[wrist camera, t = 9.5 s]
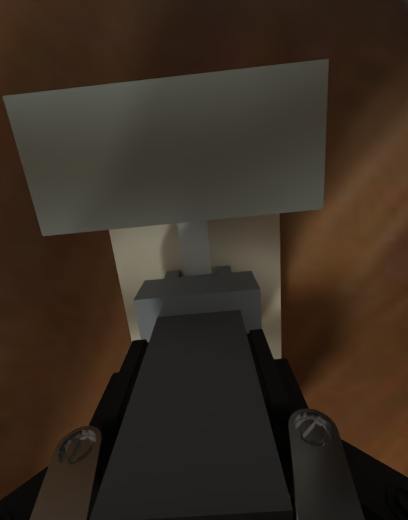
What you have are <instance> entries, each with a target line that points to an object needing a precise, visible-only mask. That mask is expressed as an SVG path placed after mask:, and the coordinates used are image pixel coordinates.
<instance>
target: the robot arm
mask: <svg viewBox="0 0 408 520" xmlns="http://www.w3.org/2000/svg"><path fill="white" fill-rule="evenodd" d="M247 338H248V342H249V345H250V349H251V353H252V357H253V360H254V364H255V368H256V372H257V376H258V379H259V383H260V387H261V391H262V394H263V398H264V402H265V406H266V410H267V413H268V417H269V421H270V425H271V429H272V432H273V436H274V440H275V444H276V447H277V451H278V455H279V459H280V463H281V466H282V470H283V474H284V478H285V481H286V485H287V489H288V493H289V497H290V500H291V504H292V508H293V520H408V477H406V476H404V475H402V474H401V473H399V472H397V471H395V470H394V469H392V468H390V467H389V466H387V465H385V464H383V463H382V462H380V461H378V460H376V459H375V458H373V457H371V456H370V455H368V454H366V453H364V452H363V451H361V450H359V449H357V448H356V447H354V446H352V445H351V444H349V443H347V442H345V441H344V440H342V439H341V438H340V435H339V431H338V429H337V427H336V425H335V423H334V422H333V421H332V420H331V419H330V418H329V417H328V416H327V415H325V414H324V413H322V412H320V411H317V410H314V409H309V408H308V406H307V404H306V401H305V399H304V397H303V395H302V392H301V390H300V388H299V386H298V383H297V381H296V379H295V377H294V374H293V372H292V370H291V368H290V365H289V363H288V361H287V359H286V358H282V359H274V358H273V356H272V353H271V350H270V348H269V345H268V342H267V340H266V337H265V334H264V332H263V329H254V330H250V331H249V333H247ZM148 343H149V342H147V340H146V339H142V340H133V341H132V344H131V346H130V348H129V350H128V353H127V355H126V357H125V360H124V362H123V364H122V366H121V369H120V371H119V373H114V374H113V375H112V377H111V379H110V381H109V383H108V385H107V387H106V389H105V392H104V394H103V396H102V398H101V400H100V402H99V405H98V407H97V409H96V411H95V413H94V415H93V417H92V420H91V422H90V424H89V426H83V427H80V428H77V429H75V430H73V431H72V432H70V433H68V434H67V435H66V436H65V437H64V438H63V439H62V440H61V441H60V442H59V443H58V445H57V446H56V448H55V450H54V452H53V455H52V458H51V461H50V464H49V466H48V467H46V468H45V469H44V470H42V471H41V472H39V473H38V474H37V475H35V476H34V477H33V478H31V479H30V480H28V481H27V482H26V483H24V484H23V485H21V486H20V487H19V488H17V489H16V490H15V491H13V492H12V493H10V494H9V495H8V496H6V497H5V498H4V499H2V500H1V501H0V520H89V519H90V516H91V513H92V510H93V507H94V504H95V501H96V498H97V495H98V492H99V489H100V486H101V483H102V481H103V478H104V475H105V472H106V469H107V466H108V463H109V460H110V457H111V454H112V451H113V448H114V445H115V442H116V439H117V436H118V433H119V430H120V427H121V424H122V421H123V418H124V415H125V412H126V409H127V406H128V403H129V400H130V397H131V394H132V391H133V388H134V385H135V382H136V379H137V376H138V373H139V370H140V367H141V364H142V361H143V358H144V355H145V352H146V349H147V346H148Z"/></svg>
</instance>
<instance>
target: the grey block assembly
mask: <svg viewBox="0 0 408 520" xmlns="http://www.w3.org/2000/svg"><path fill="white" fill-rule="evenodd" d="M328 72H329V59H322V60H313V61H304V62H295V63H287V64H278V65H269V66H260V67H252V68H243V69H234V70H225V71H217V72H208V73H199V74H190V75H182V76H173V77H164V78H156V79H147V80H138V81H129V82H121V83H112V84H103V85H94V86H86V87H77V88H68V89H59V90H51V91H42V92H33V93H24V94H16V95H7V96H3V100H4V103H5V107H6V110H7V114H8V117H9V121H10V124H11V128H12V131H13V135H14V138H15V142H16V145H17V149H18V152H19V156H20V159H21V163H22V166H23V170H24V173H25V177H26V180H27V184H28V187H29V191H30V194H31V198H32V201H33V205H34V208H35V212H36V215H37V219H38V223H39V226H40V230H41V233H42V236H50V235H61V234H71V233H81V232H92V231H102V230H109V234H110V239H111V243H112V248H113V253H114V258H115V263H116V268H117V272H118V277H119V282H120V287H121V292H122V296H123V301H124V306H125V311H126V316H127V321H128V325H129V330H130V335H131V340H132V341H133V340H141V337H140V332H139V327H138V322H137V317H136V312H135V307H134V301H133V300H134V298H135V296H136V295H137V293H138V291H139V289H140V288H141V286H142V284H143V282H144V281H145V280H154V279H164V277H165V275H166V272H167V271H176V270H180V274H181V277H187V276H199V275H210V274H217V268H216V267H220V266H230V268H231V272H243V271H252V273H253V275H254V277H255V279H256V281H257V283H258V285H259V287H260V291H261V319H262V329H263V332H264V334H265V337H266V340H267V342H268V345H269V348H270V350H271V353H272V356H273V358H274V359H281V276H280V213H288V212H298V211H308V210H319V209H323V207H324V180H325V153H326V126H327V99H328Z"/></svg>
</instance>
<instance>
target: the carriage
mask: <svg viewBox="0 0 408 520" xmlns="http://www.w3.org/2000/svg"><path fill="white" fill-rule="evenodd" d="M216 268H217V274H210V275H199V276H187V277H181V274H180V270H176V271H167V272H166V275H165V277H164V279H154V280H145V281H144V282H143V284H142V286H141V288H140V289H139V291H138V293H137V295H136V296H135V298H134V300H133V301H134V307H135V312H136V317H137V322H138V327H139V332H140V337H141V340H142V339H146V340H147V342H149V343H148V346H147V349H146V352H145V355H144V358H143V361H142V364H141V367H140V370H139V373H138V376H137V379H136V382H135V385H134V388H133V391H132V394H131V397H130V400H129V403H128V406H127V409H126V412H125V415H124V418H123V421H122V424H121V427H120V430H119V433H118V436H117V439H116V442H115V445H114V448H113V451H112V454H111V457H110V460H109V463H108V466H107V469H106V472H105V475H104V478H103V481H102V483H101V486H100V489H99V492H98V495H97V498H96V501H95V504H94V507H93V510H92V513H91V516H90V519H89V520H293V508H292V504H291V500H290V497H289V493H288V489H287V485H286V481H285V478H284V474H283V470H282V466H281V463H280V459H279V455H278V451H277V447H276V444H275V440H274V436H273V432H272V429H271V425H270V421H269V417H268V413H267V410H266V406H265V402H264V398H263V394H262V391H261V387H260V383H259V379H258V376H257V372H256V368H255V364H254V360H253V357H252V353H251V349H250V345H249V342H248V338H247V333H249V331H250V330H254V329H262V319H261V291H260V287H259V285H258V283H257V281H256V279H255V277H254V275H253V273H252V271H243V272H231V268H230V266H220V267H216Z"/></svg>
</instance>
